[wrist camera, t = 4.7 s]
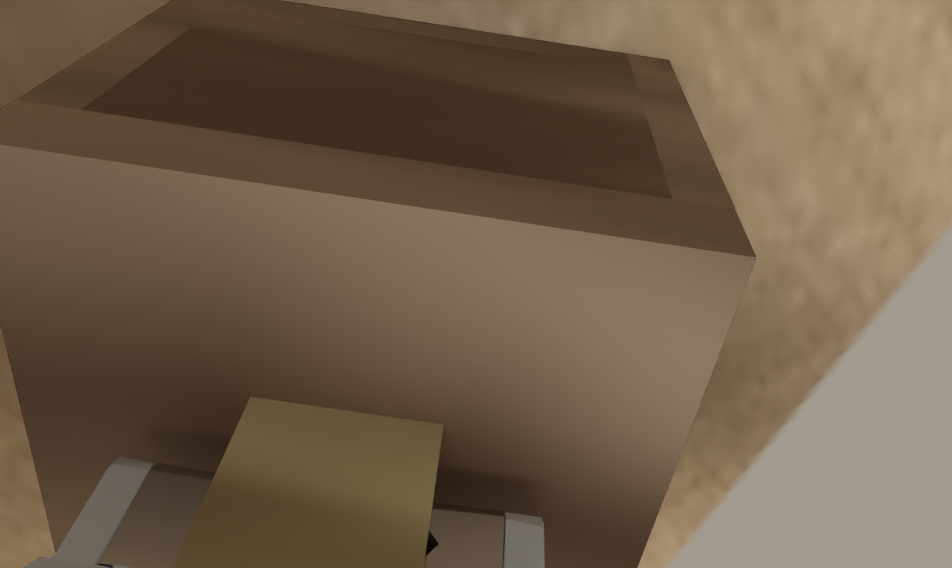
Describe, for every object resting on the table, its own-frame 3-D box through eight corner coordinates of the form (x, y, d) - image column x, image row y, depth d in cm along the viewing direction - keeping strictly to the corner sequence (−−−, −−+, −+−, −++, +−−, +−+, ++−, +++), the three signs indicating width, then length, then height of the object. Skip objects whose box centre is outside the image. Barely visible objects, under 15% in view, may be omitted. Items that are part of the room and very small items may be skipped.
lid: (585, 631, 15) (601, 915, 11) (104, 564, 15) (-41, 830, 11) (734, 208, 10) (849, 466, 6) (15, 100, 10) (-300, 300, 6)
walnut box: (573, 413, 20) (585, 631, 15) (214, 361, 20) (105, 564, 15) (669, 60, 15) (735, 208, 10) (192, -13, 15) (16, 100, 10)
